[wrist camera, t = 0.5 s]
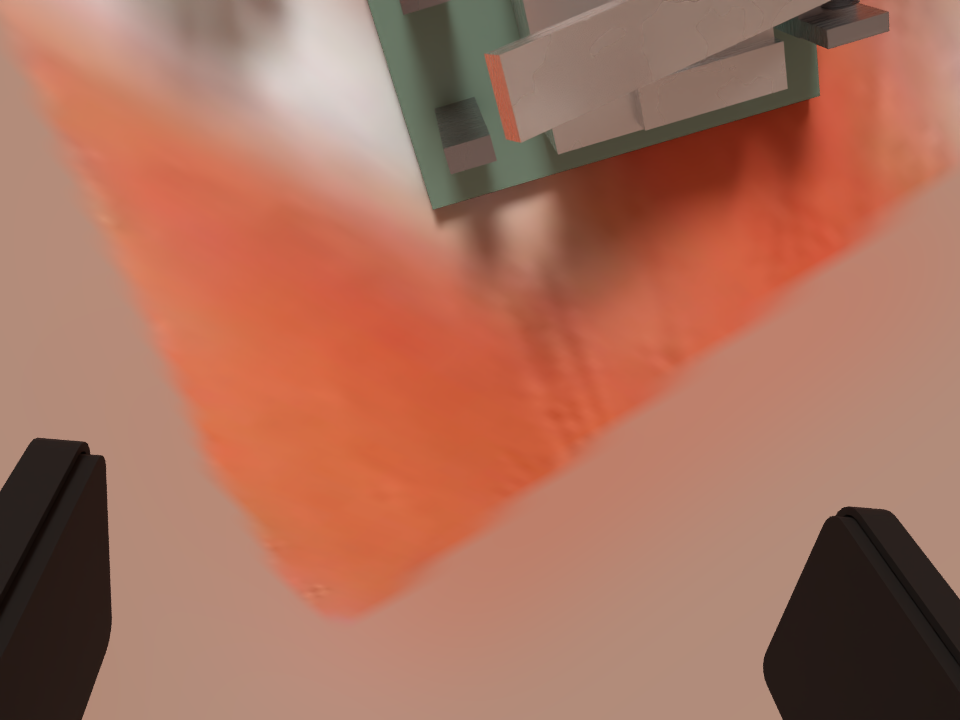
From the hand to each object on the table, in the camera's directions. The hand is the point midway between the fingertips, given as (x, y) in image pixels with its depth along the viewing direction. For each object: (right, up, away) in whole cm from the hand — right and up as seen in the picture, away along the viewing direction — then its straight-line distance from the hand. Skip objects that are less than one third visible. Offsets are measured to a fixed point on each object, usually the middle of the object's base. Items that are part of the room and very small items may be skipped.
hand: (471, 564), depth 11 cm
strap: (+6, +13, +15) cm, 21 cm away
